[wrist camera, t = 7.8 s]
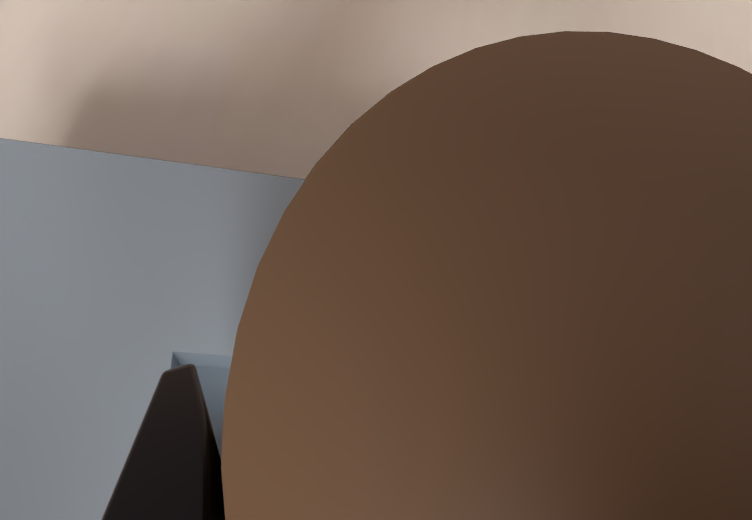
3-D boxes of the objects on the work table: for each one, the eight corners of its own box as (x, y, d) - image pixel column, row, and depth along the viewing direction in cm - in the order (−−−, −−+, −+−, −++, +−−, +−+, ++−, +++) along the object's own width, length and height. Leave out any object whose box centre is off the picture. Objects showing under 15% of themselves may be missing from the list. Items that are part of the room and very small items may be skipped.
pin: (422, 441, 16) (1145, 458, 3) (298, 565, 14) (768, 1351, 2) (317, 318, 16) (643, -87, 4) (185, 428, 14) (-17, 380, 2)
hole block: (473, 716, 21) (538, 788, 16) (-79, 741, 17) (-176, 840, 13) (474, 247, 25) (526, 209, 21) (38, 195, 22) (-7, 137, 17)
